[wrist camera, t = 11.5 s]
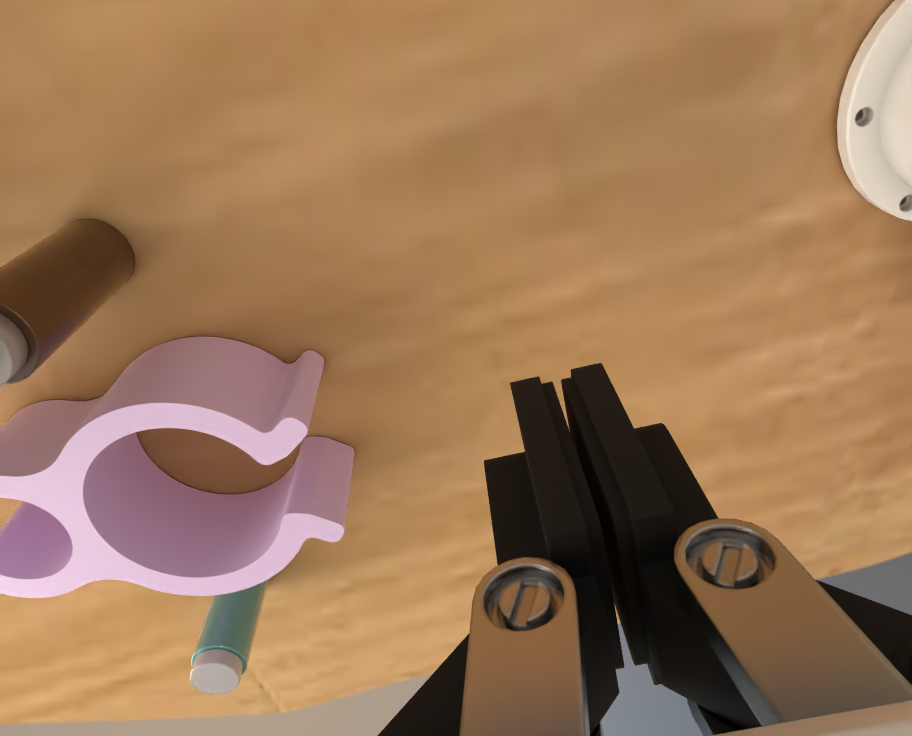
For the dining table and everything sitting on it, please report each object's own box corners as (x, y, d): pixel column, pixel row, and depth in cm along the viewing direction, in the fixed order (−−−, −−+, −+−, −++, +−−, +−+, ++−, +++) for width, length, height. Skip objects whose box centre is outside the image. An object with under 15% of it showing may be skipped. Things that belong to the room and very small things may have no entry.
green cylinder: (261, 550, 45) (231, 656, 37) (276, 584, 46) (250, 692, 39) (215, 559, 45) (176, 666, 37) (231, 592, 46) (197, 701, 39)
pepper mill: (115, 211, 33) (-35, 317, 22) (146, 281, 35) (22, 411, 24) (42, 226, 33) (-143, 339, 22) (77, 295, 35) (-78, 431, 24)
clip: (66, 544, 43) (10, 633, 37) (-39, 383, 37) (-127, 457, 31) (366, 488, 42) (358, 569, 36) (308, 312, 36) (287, 374, 30)
